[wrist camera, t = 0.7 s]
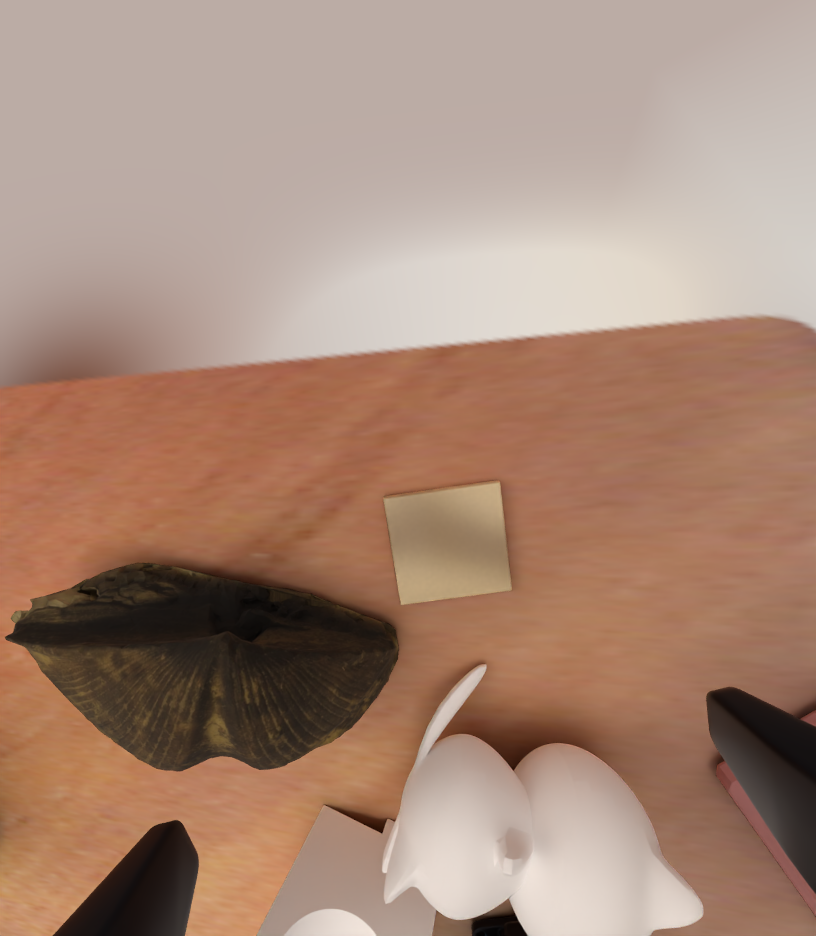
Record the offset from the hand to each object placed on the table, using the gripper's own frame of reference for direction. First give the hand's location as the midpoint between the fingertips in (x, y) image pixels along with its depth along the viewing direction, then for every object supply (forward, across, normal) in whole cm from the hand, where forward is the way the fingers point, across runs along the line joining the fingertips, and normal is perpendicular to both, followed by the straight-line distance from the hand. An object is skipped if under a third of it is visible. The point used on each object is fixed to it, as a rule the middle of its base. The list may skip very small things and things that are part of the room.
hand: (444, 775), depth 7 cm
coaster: (+14, -1, +2) cm, 14 cm away
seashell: (+15, +10, +5) cm, 19 cm away
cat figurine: (+14, -2, +15) cm, 20 cm away
